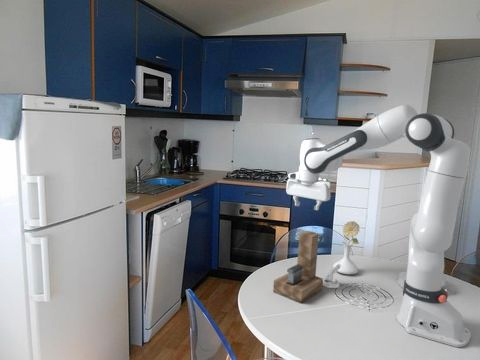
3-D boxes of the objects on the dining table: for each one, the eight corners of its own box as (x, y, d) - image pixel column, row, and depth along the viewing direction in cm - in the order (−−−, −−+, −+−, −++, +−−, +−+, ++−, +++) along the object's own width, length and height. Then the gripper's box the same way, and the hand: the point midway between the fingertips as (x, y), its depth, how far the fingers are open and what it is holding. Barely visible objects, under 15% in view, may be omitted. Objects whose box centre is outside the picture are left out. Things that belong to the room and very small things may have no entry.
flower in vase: (327, 267, 175) (332, 216, 171) (348, 266, 178) (353, 215, 174) (343, 279, 162) (348, 224, 158) (365, 277, 166) (370, 223, 162)
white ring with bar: (350, 280, 149) (336, 269, 149) (331, 297, 154) (318, 286, 155) (352, 270, 155) (338, 259, 156) (334, 286, 161) (321, 276, 162)
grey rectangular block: (301, 289, 149) (303, 265, 147) (290, 295, 143) (292, 271, 141) (296, 287, 150) (298, 263, 149) (285, 293, 144) (287, 269, 143)
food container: (436, 302, 145) (438, 286, 144) (388, 284, 160) (390, 269, 159) (455, 289, 158) (457, 274, 157) (409, 273, 173) (411, 259, 172)
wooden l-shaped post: (322, 290, 151) (326, 236, 147) (300, 303, 139) (305, 244, 135) (295, 280, 159) (298, 228, 156) (273, 292, 147) (276, 236, 144)
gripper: (334, 178, 152) (331, 211, 155) (293, 172, 166) (291, 202, 168) (327, 180, 148) (324, 213, 150) (285, 173, 161) (283, 204, 163)
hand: (306, 207), depth 159 cm, fingers open, 8 cm apart
